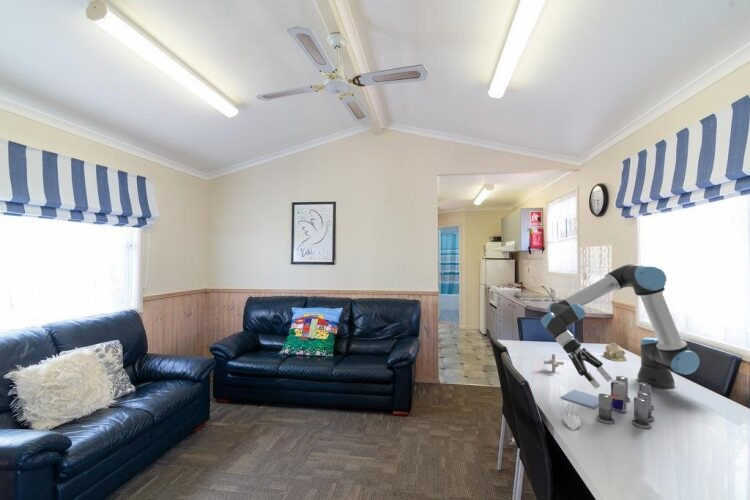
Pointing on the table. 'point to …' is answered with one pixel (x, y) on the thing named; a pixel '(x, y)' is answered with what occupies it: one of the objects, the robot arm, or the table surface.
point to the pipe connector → (553, 363)
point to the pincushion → (572, 421)
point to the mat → (582, 398)
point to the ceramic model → (614, 352)
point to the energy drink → (618, 396)
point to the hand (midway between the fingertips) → (604, 383)
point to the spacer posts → (640, 402)
